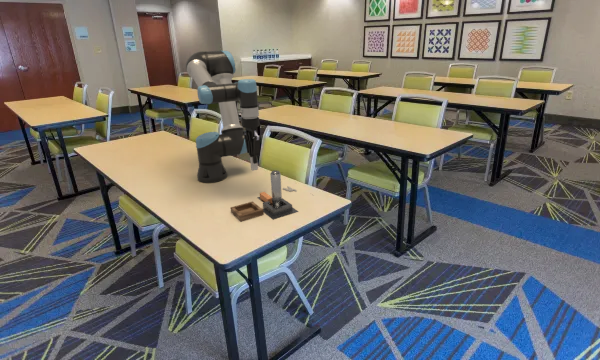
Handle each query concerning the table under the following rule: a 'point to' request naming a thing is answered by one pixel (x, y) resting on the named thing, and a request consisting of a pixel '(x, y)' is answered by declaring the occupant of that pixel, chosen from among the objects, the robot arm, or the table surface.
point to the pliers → (291, 189)
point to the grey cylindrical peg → (276, 189)
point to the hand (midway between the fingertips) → (254, 169)
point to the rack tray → (247, 211)
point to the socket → (277, 209)
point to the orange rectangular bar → (266, 197)
